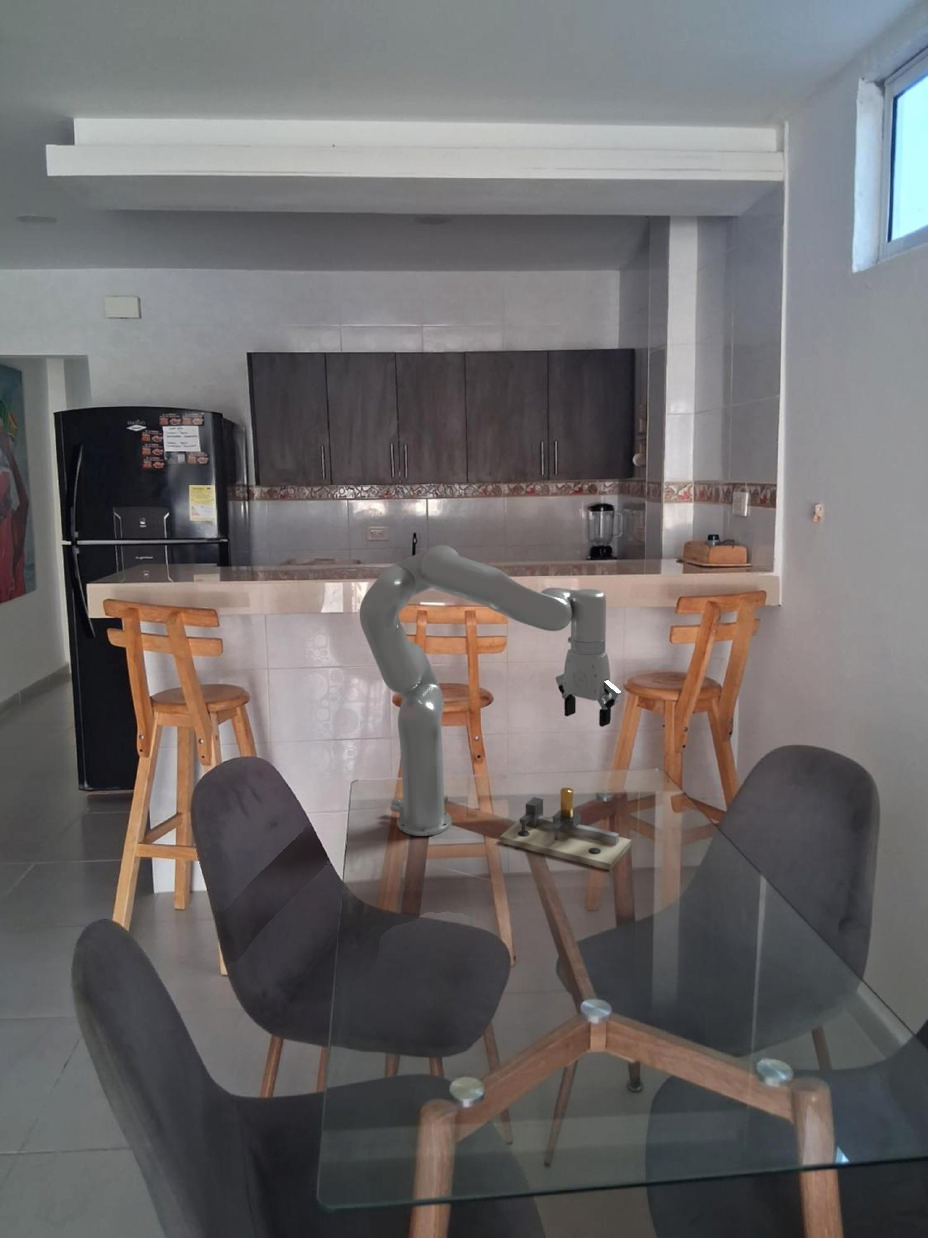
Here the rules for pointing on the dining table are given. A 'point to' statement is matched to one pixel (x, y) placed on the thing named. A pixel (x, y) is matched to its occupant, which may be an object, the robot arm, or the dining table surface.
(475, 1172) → the dining table surface
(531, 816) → the hole plate
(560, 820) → the brass and grey piece
